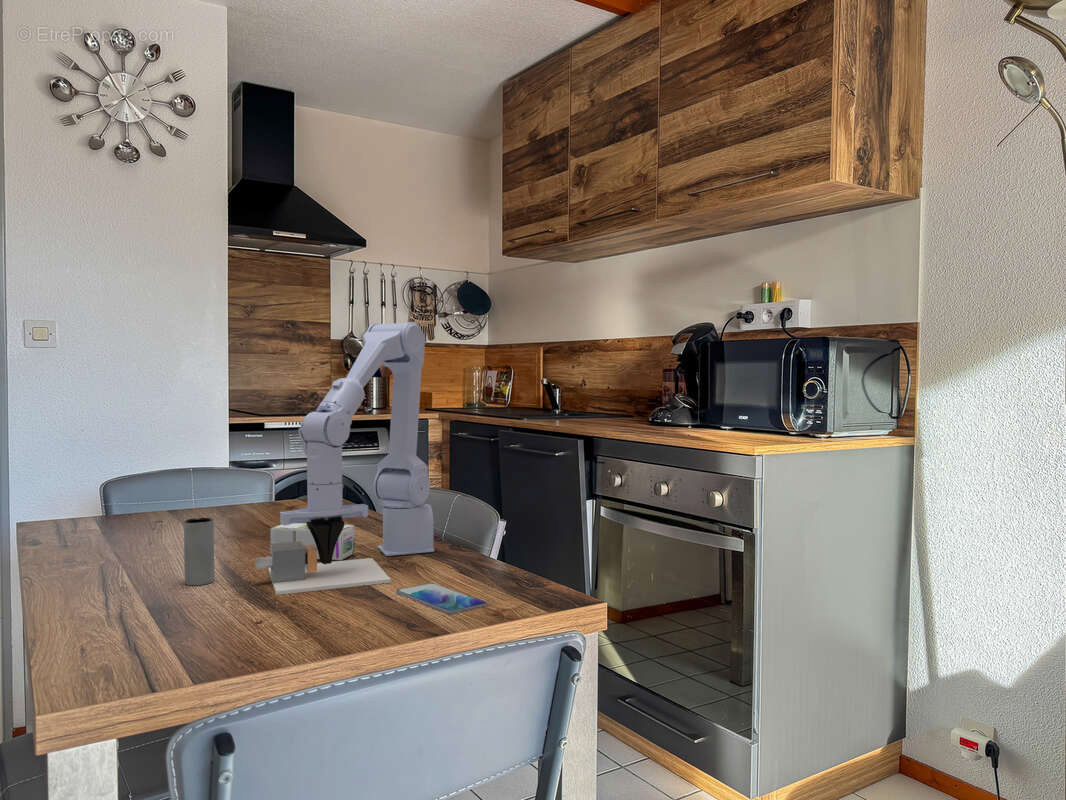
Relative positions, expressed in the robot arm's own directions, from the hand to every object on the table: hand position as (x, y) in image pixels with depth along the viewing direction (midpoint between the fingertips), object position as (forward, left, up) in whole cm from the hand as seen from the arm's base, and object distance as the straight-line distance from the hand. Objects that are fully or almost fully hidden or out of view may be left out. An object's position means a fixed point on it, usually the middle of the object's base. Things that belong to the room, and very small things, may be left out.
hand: (325, 562), depth 131 cm
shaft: (+6, 0, -1) cm, 6 cm away
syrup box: (+6, -20, +1) cm, 21 cm away
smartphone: (-14, +20, -3) cm, 25 cm away
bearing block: (+6, 0, -2) cm, 7 cm away
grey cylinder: (+20, -5, -3) cm, 20 cm away
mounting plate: (0, 0, -2) cm, 2 cm away
